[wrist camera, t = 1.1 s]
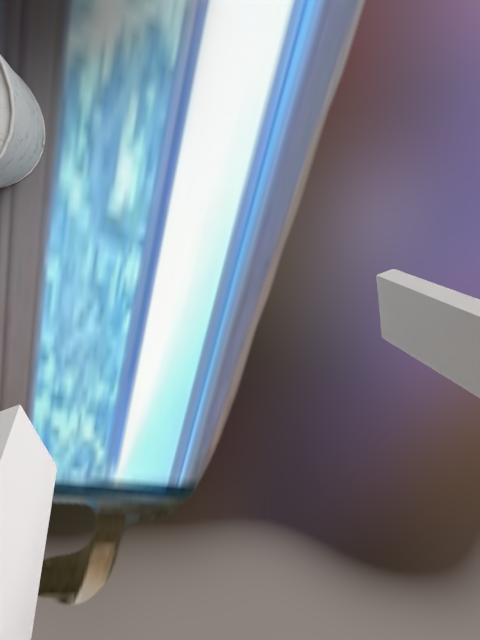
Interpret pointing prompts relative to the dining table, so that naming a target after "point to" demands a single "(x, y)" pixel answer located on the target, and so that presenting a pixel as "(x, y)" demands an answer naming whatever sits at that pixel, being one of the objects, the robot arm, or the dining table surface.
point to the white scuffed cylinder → (18, 128)
